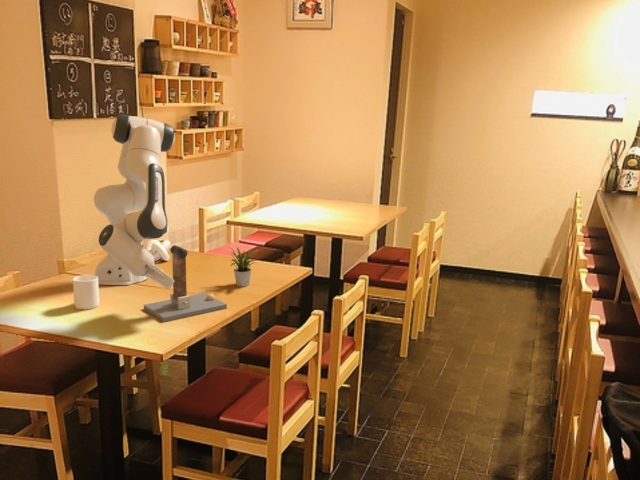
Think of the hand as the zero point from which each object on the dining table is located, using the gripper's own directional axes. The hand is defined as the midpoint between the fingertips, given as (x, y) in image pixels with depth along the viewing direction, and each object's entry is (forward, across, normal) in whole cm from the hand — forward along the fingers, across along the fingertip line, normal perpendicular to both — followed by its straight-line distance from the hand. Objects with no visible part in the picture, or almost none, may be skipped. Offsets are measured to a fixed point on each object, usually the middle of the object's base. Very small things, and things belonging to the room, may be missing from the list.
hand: (168, 286), depth 206 cm
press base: (+11, 0, +2) cm, 11 cm away
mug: (-7, +23, +21) cm, 32 cm away
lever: (+7, 0, +1) cm, 7 cm away
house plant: (+33, +14, -19) cm, 40 cm away
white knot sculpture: (+26, +67, -12) cm, 73 cm away
